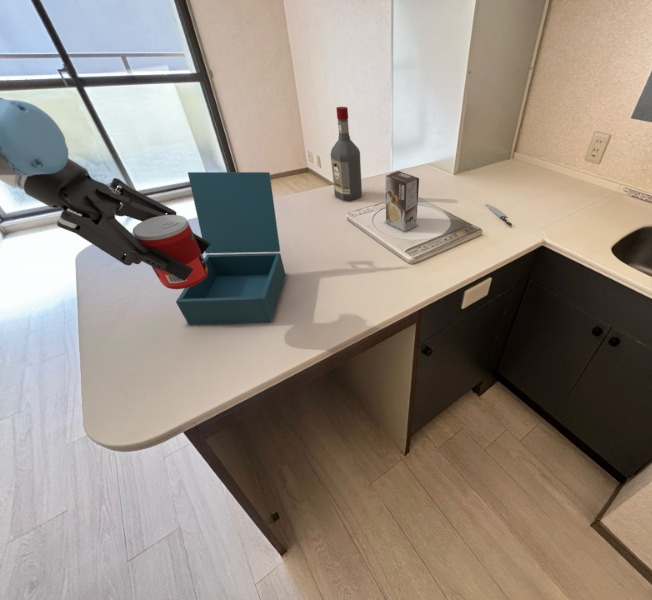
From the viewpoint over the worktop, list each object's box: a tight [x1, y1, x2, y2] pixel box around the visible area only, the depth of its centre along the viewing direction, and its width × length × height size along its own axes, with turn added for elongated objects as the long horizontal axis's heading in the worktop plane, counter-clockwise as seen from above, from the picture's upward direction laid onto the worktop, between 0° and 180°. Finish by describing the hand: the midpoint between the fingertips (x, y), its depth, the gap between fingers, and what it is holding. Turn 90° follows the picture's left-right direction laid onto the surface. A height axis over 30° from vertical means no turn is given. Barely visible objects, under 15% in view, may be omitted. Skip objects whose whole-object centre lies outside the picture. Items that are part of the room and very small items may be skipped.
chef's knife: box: [485, 203, 513, 227], centre depth 117 cm, size 19×1×3 cm
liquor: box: [330, 106, 363, 202], centre depth 116 cm, size 9×9×30 cm
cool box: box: [175, 252, 287, 326], centre depth 77 cm, size 18×18×7 cm
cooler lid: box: [187, 171, 281, 254], centre depth 79 cm, size 19×18×5 cm
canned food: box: [132, 214, 208, 290], centre depth 58 cm, size 8×8×11 cm
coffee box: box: [385, 170, 420, 232], centre depth 105 cm, size 9×6×16 cm
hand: (198, 261), depth 59 cm, fingers closed on canned food, 8 cm apart
